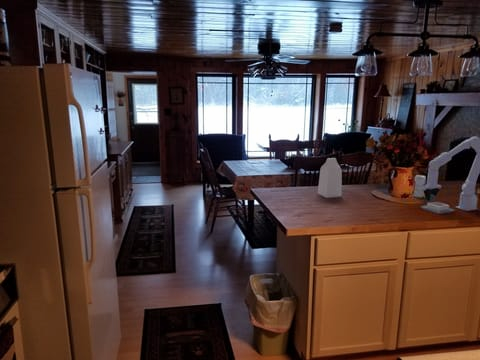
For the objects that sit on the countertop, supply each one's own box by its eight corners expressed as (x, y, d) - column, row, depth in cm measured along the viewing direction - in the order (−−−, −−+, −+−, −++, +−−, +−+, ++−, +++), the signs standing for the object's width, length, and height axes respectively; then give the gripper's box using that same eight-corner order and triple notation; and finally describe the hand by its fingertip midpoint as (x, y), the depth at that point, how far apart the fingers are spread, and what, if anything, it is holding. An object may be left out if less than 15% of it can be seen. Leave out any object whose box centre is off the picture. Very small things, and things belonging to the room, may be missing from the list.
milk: (332, 192, 264) (334, 156, 259) (341, 196, 254) (343, 159, 248) (317, 193, 261) (319, 157, 255) (326, 197, 250) (328, 160, 244)
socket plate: (435, 205, 232) (436, 200, 231) (454, 211, 220) (455, 205, 220) (420, 208, 227) (421, 202, 226) (439, 214, 215) (439, 208, 215)
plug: (429, 201, 237) (430, 193, 236) (434, 202, 233) (435, 195, 232) (424, 201, 235) (425, 194, 234) (430, 203, 232) (431, 195, 231)
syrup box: (414, 194, 257) (416, 174, 254) (423, 196, 254) (426, 175, 250) (412, 196, 253) (414, 176, 250) (421, 198, 249) (423, 177, 246)
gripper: (435, 176, 237) (432, 197, 240) (418, 178, 232) (416, 199, 235) (445, 179, 231) (442, 199, 234) (428, 181, 225) (425, 202, 228)
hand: (430, 199), depth 234 cm, fingers closed on plug, 4 cm apart
